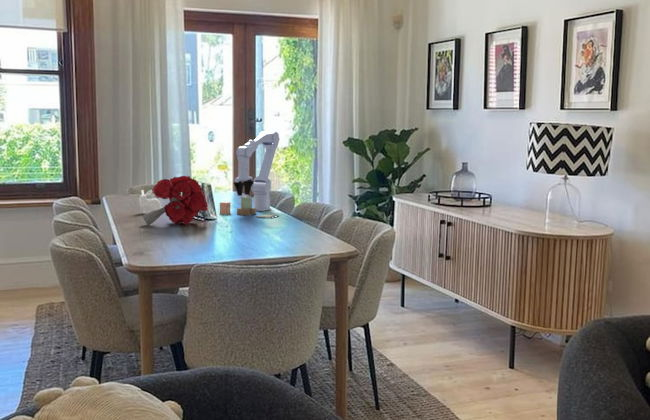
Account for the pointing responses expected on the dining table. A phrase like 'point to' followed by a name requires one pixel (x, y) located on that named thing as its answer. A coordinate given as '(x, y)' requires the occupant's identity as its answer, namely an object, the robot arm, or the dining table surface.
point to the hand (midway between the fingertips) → (243, 194)
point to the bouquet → (178, 200)
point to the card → (266, 216)
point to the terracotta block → (224, 207)
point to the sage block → (246, 202)
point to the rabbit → (149, 203)
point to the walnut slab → (246, 211)
